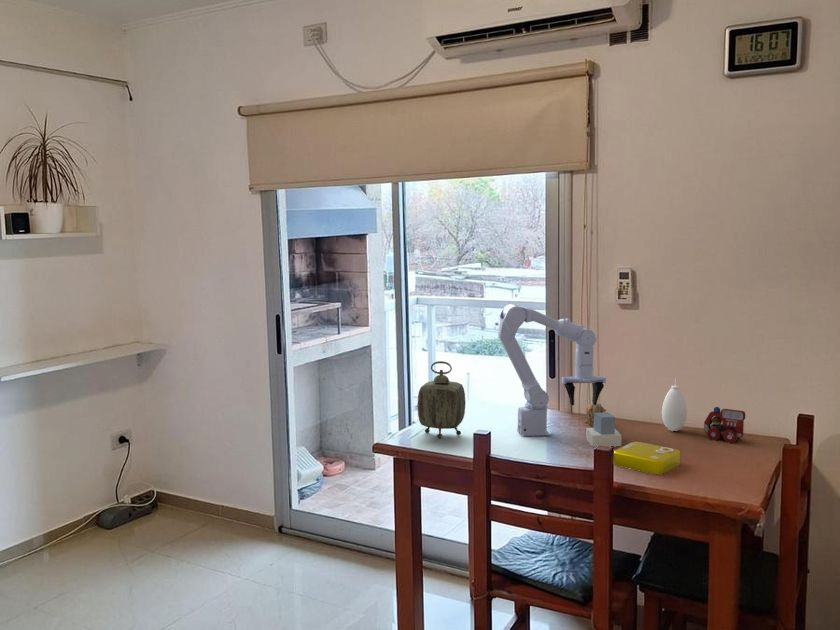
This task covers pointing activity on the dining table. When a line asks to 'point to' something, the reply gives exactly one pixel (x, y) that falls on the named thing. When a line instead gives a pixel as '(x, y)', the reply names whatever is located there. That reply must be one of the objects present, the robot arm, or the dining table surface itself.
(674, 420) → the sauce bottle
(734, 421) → the toy fire truck
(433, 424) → the tabletop clock
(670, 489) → the dining table surface
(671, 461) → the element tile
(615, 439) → the base block
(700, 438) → the dining table surface
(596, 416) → the grey block
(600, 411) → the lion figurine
